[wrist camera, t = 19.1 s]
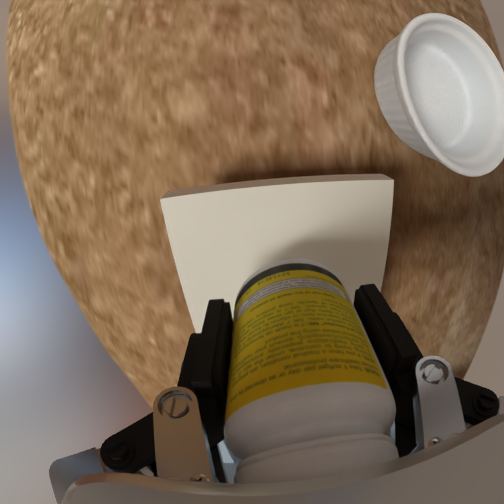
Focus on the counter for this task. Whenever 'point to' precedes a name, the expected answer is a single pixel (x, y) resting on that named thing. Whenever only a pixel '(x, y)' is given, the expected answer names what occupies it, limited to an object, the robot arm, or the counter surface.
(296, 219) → the panel
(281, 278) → the supplement bottle
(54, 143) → the counter surface
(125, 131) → the counter surface
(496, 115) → the ramekin
